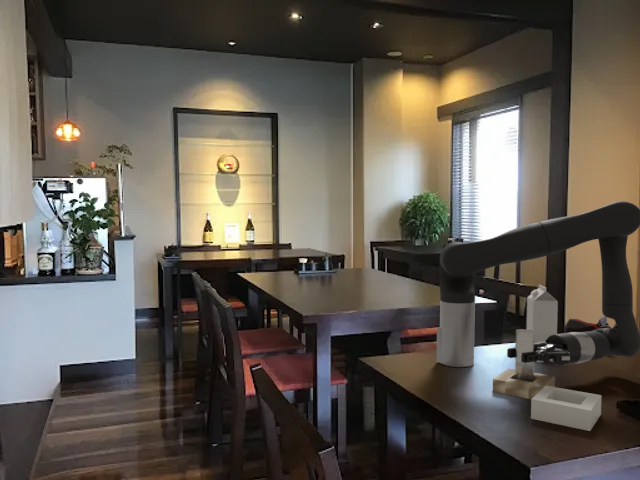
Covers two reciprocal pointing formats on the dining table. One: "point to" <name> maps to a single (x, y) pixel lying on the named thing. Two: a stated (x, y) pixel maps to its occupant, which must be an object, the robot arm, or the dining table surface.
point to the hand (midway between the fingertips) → (515, 355)
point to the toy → (585, 325)
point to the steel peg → (523, 345)
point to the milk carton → (542, 314)
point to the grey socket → (566, 407)
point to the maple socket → (521, 384)
